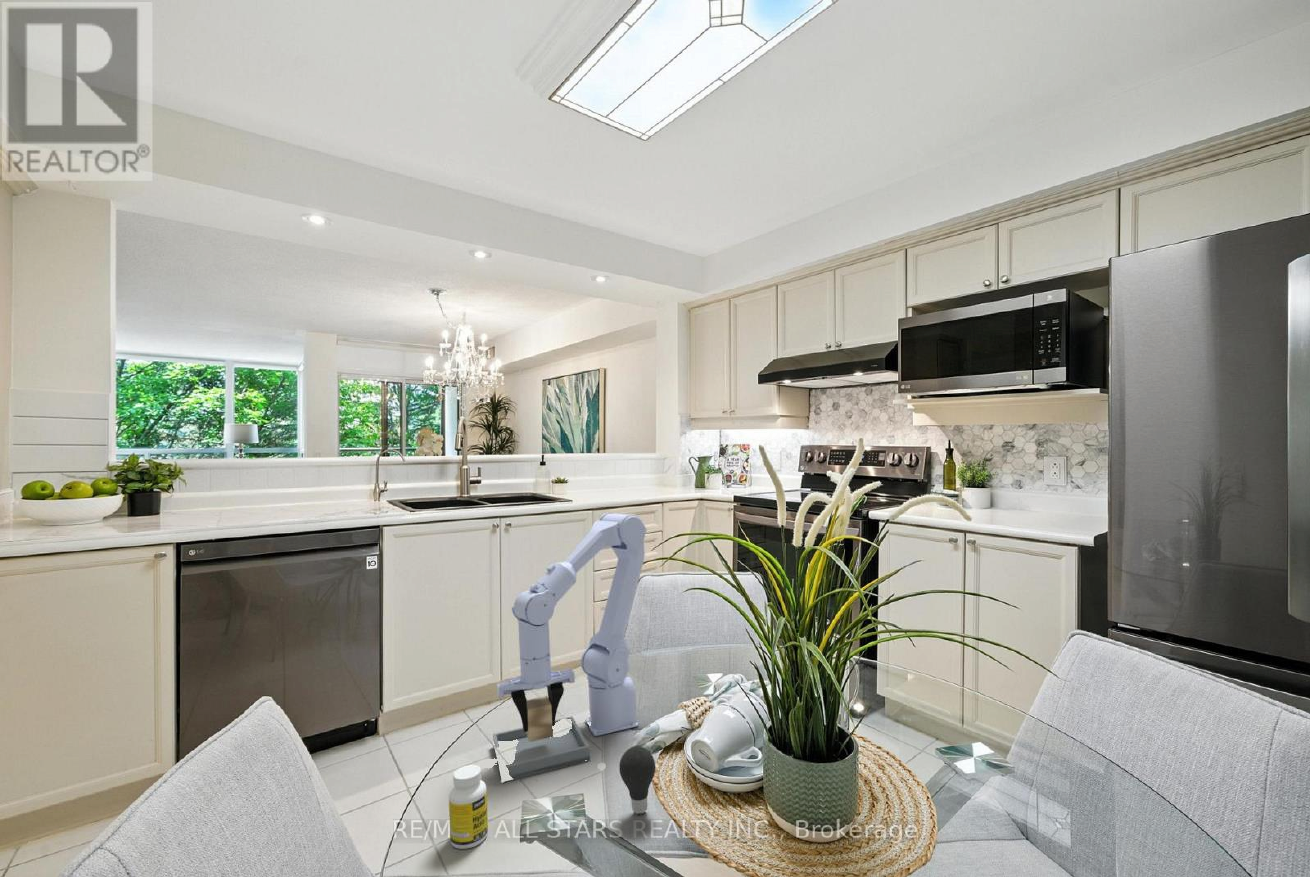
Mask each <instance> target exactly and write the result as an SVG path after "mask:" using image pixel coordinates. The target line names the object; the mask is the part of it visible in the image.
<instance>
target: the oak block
mask: <svg viewBox="0 0 1310 877" xmlns="http://www.w3.org/2000/svg"><path fill="white" fill-rule="evenodd" d="M527 722H528V731H527V732H526V734H527V737H528V740H529V742H533V741H537V740H541V739H546V738H550V737H553V729H552V709H551V703H550V701H549V699H548V695H546V696H541V697H536V698H532V699H527Z"/></svg>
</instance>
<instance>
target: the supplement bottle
mask: <svg viewBox="0 0 1310 877" xmlns="http://www.w3.org/2000/svg"><path fill="white" fill-rule="evenodd" d="M452 777H453V778H452V779H453V786H452V787H451V789H450V790H449V793H448V807H449V808H448V809H449V816H448V818H449V838H450V844H451V845H452V847H454V848H456V849H459V850H460V849H461V850H466V849H471V848H474V847H476V846H478V845H480V844H481V843H483V842H484V841H485V839H487V837H488V834H489V833H488V832H489V821H488V820H489V818H488V797H487V796H488V794H487V793H488V791H487V785H486V783H485V782H484V780H482V769H481V767H480V766H479V765H478V764H477V765H476V764H469V765H464V766H462V767H460V768H458V769H456V770H455V771H454V772H453V776H452Z"/></svg>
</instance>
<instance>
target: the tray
mask: <svg viewBox="0 0 1310 877" xmlns="http://www.w3.org/2000/svg"><path fill="white" fill-rule="evenodd" d="M565 718H566V719H571V721H572V729H570V730H569V733H567V734H566V735H563V736H561V737H551V738H546V739H541V740H537V741H533V742H529V740H528V737H527V734H526V732H524V730H523V727H519V728H515V729H510V730H505V731H502V732H497V733H493V734H492V741H494V744H495V747H496V748H497V747H499V744H498V741H513V740H516V739H517V740H518V741H519V742H518V744H517V746H516V750H517V751H516V753H515V760H514V762H513V763H512V764H510V765H506V767H507V768H508V770H509V775H510V776H511V777H512V778H513V779H514V780H515V781H516V780H520V779H522V778H527V777H531V776H534V775H539V774H542V773H547V772H550V771H553V770H554V771H555V770H559V769H561V768H566V767H570V766H573V765H578V764H581V762H582V763H584V762H583V761H585V760H588V761H591V753H590V752H591V750H590V749H591V748H590V745H589V743H588V741H587V739H586V738H585V736H584V734H583V732H582V730H581V729H580V727H579V726H578V724H577V722H576V721H575V718H574V717H573V716H572V715H571V716H567V717H565ZM561 719H562V718H559V719H555V723H556V722H558V721H560V720H561ZM588 761H587V762H588ZM514 780H513V781H514Z"/></svg>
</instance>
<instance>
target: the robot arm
mask: <svg viewBox="0 0 1310 877" xmlns="http://www.w3.org/2000/svg"><path fill="white" fill-rule="evenodd" d="M647 531H648V530H647V527H646V525H645V524H644V522H643V520H642V519H641V517H640V516H638V515H637V514H634V513H630V514H628V513H627V514H626V513H614V512H606V513H603V514H602V515H601V516H600V517H599V518H598V520H596V521H595V522H594V523H593V524H592V527H591V529H590V531H589V532H588V533H587V535H585V537H584V538H583V539H582V540H581V541H580V543H579V544H578V545H577V546H576V548H574V550H573V551H572V552H571V553H570V554H569V555H568V557H567V558H566V559H565V560H564V561H561V562H560V561H559V562H558V561H557V562H555V563H554V564H552V563H551V564H548V566H547V567H546V570H547V571H546V572H545V573H544V574H543V575H542V576H541V577H540V578H539V579H538V580H537V581H536V582H535V583H532V584H531V585H530V587H529V588H530V589H529V590H526V591H525V590H524V591H523V592H521V593H520V594H519V595H517V597H516V599H515V600H514V603H513V606H512V607H511V613H512V614H513V616H514V618H515V619H516V620H517V622H518V643H519V662H520V676H519V677H516V678H512V679H511V680H507V681H504V682H499V683H496V691H497V692H496V693H497V697H498V698H504V697H505V696H507V695H510V696H511V700H512V701H513V704H514V705H515V706H516V710H517V711H518V713H519V715H520V719H521V723H522V728H523V730H524V732H527V731H528V722H527V700H528V699H527V697H526V692H527V691H531V690H540V689H541V690H542V689H545V688H546V689H547V690H546V691H547V697H548V699H549V701H550V703H551V709H552V726H554V725H555V720H556V718H557V717H556V716H557V712H558V708H559V704H560V702H561V699H562V697H563V695H564V692H565V687H564V686H563V684H566V683H568V684H573V683H575V682H576V681H575V679H576V677H575V676H576V675H575V671H574V670H573V669H565V670H556V671H554V670H552V664H551V663H552V660H551V646H550V624H549V620H551V619H552V617H553V615H554V611H555V608H556V606H557V604H558V602H559V601H560V600H561V599H562V598H563V597H564V596H565V595H566V593H568V591H570V589H571V588H572V587H573V586H574V585H575V583H577V573H578V572H579V571H580V570H581V569H582V568H584V566H585V565H586V564H588V563H589V562H590V560H592V559H593V558H594V557H595V556H596V555H598V554H599V552H600V551H601V550H603V549H604V548H609V547H610V548H611V549H612V550H613V552H614V554H615V556H616V557H617V562H616V567H615V571H614V575H613V577H612V578H613V579H612V582H611V586H610V588H609V593H608V597H607V600H606V604H605V608H604V612H603V615H602V620H601V623H600V627H599V630H598V631H597V632H596V633H595V634H594V635H592V636H591V637H590V638H589V643H588V645H587V647H586V649H585V650H584V651H583V653H582V655H581V659H580V666H581V670H582V671H583V673H585V674H586V679H587V683H588V698H589V702H588V703H589V717H586V718H585V719H584V722H585V721H586V722H591V726H589V727H588V728H589V729H590V732H591V733H592V732H593V733H592V735H593V737H599V736H602V735H607V734H611V733H614V732H618V731H623V730H628V729H631V728H635V727H638V726H639V722H638V714H637V713H638V712H637V697H636V688H635V684H634V680H633V679H632V678H631V677H630V676H628V673H629V670H630V662H629V656H630V652H631V650H630V647H629V645H628V642H627V641H626V639H625V635H626V631H627V627H628V623H629V620H630V616H631V612H632V611H631V610H632V608H633V603H634V600H635V596H636V591H637V588H638V584H639V581H640V576H641V572H642V568H643V564H644V560H645V537H646V534H647ZM586 722H585V723H586Z"/></svg>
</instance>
